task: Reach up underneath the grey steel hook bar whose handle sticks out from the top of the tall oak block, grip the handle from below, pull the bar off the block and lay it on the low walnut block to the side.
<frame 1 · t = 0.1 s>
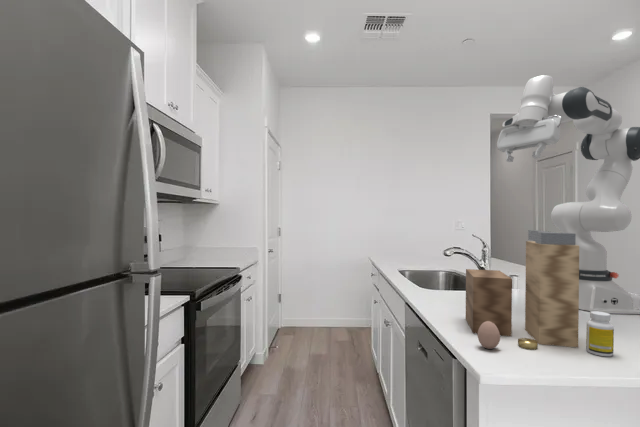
hand: (522, 159, 124), 52 cm above the counter, tool tilted 20°, fingers open, 8 cm apart
egg: (488, 349, 96), on the counter
walnut block: (486, 326, 114), on the counter
oak shelf block: (549, 337, 104), on the counter
hook bar: (537, 240, 116), point 26 cm above the counter, touching oak shelf block
brass disc: (527, 347, 97), on the counter
supplement bottle: (599, 353, 93), on the counter
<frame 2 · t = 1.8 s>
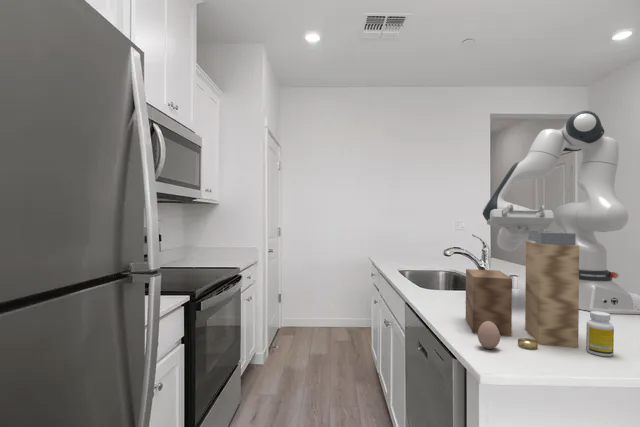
hand: (526, 206, 128), 37 cm above the counter, tool pointing upward, fingers open, 8 cm apart
nothing on the counter moved.
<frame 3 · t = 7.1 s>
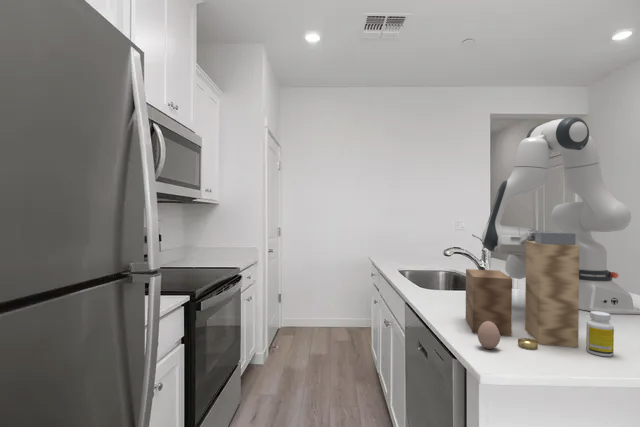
hand: (538, 233, 115), 28 cm above the counter, tool pointing upward, fingers closed on hook bar, 3 cm apart
hook bar: (537, 240, 116), point 26 cm above the counter, touching gripper, oak shelf block
everything else where it was.
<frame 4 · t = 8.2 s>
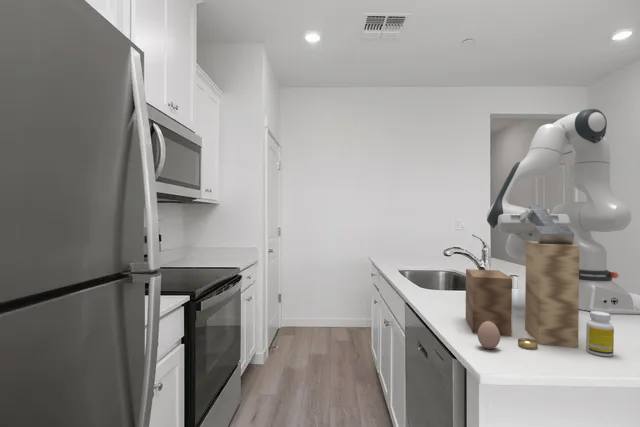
hand: (538, 211, 115), 35 cm above the counter, tool pointing upward, fingers closed on hook bar, 3 cm apart
hook bar: (537, 218, 116), point 33 cm above the counter, tilted 23°, touching gripper
everything else where it was.
when the fingers open (23 cm above the counter, at t = 13.1 s): hook bar drops 8 cm, resting on arm, walnut block.
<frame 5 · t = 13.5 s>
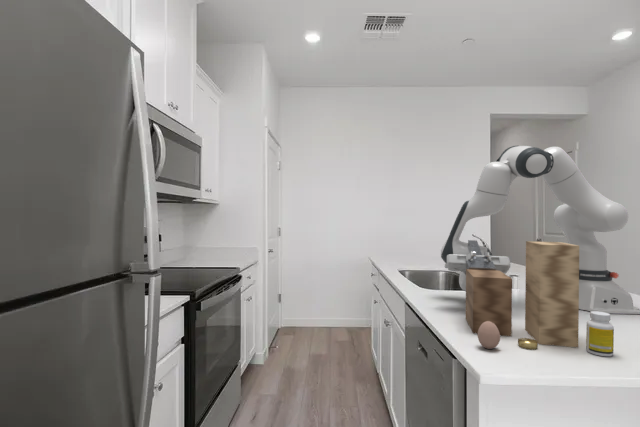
hand: (480, 253, 125), 21 cm above the counter, tool pointing upward, fingers open, 3 cm apart
hook bar: (473, 252, 139), point 20 cm above the counter, tilted 21°, touching arm, gripper, walnut block
everything else where it was.
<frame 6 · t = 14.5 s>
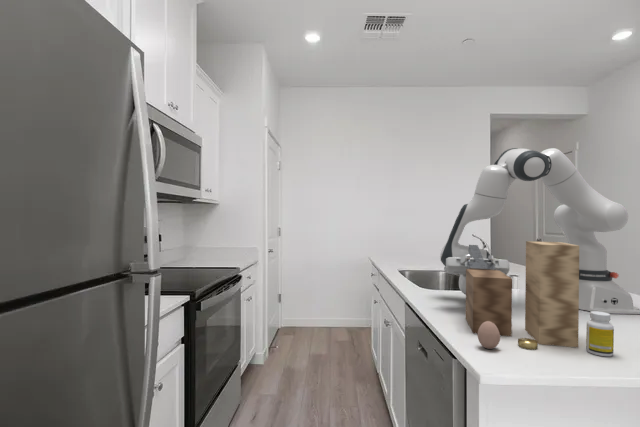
hand: (479, 257, 125), 20 cm above the counter, tool pointing upward, fingers open, 6 cm apart
hook bar: (474, 256, 139), point 18 cm above the counter, tilted 17°, touching arm, gripper, walnut block
everything else where it was.
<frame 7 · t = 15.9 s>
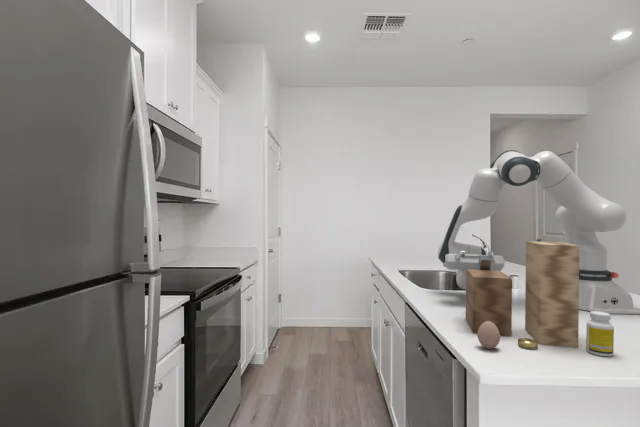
hand: (476, 253, 134), 20 cm above the counter, tool pointing upward, fingers open, 8 cm apart
hook bar: (482, 266, 125), point 17 cm above the counter, tilted 113°, touching walnut block
everything else where it was.
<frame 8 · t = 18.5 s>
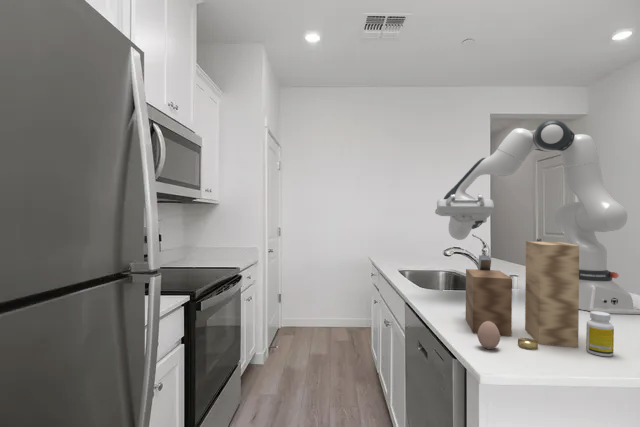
hand: (466, 196, 139), 40 cm above the counter, tool pointing upward, fingers open, 8 cm apart
hook bar: (482, 266, 125), point 17 cm above the counter, tilted 113°
everything else where it was.
at the end: hook bar inside the target area on the walnut block (1.2 cm from its centre), point 16.8 cm above the walnut block's base; hook bar touching counter; the gripper is holding nothing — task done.
